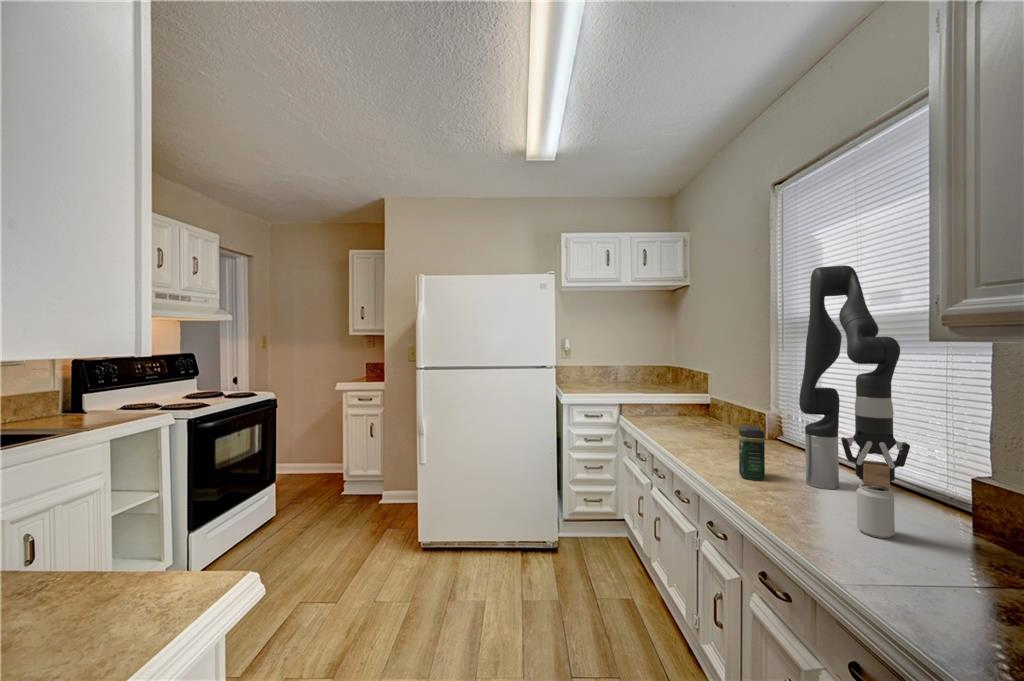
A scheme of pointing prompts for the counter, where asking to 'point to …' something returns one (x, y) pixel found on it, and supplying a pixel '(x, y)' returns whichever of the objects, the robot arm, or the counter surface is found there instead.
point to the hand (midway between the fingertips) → (874, 479)
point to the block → (876, 473)
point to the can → (875, 511)
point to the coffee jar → (751, 452)
